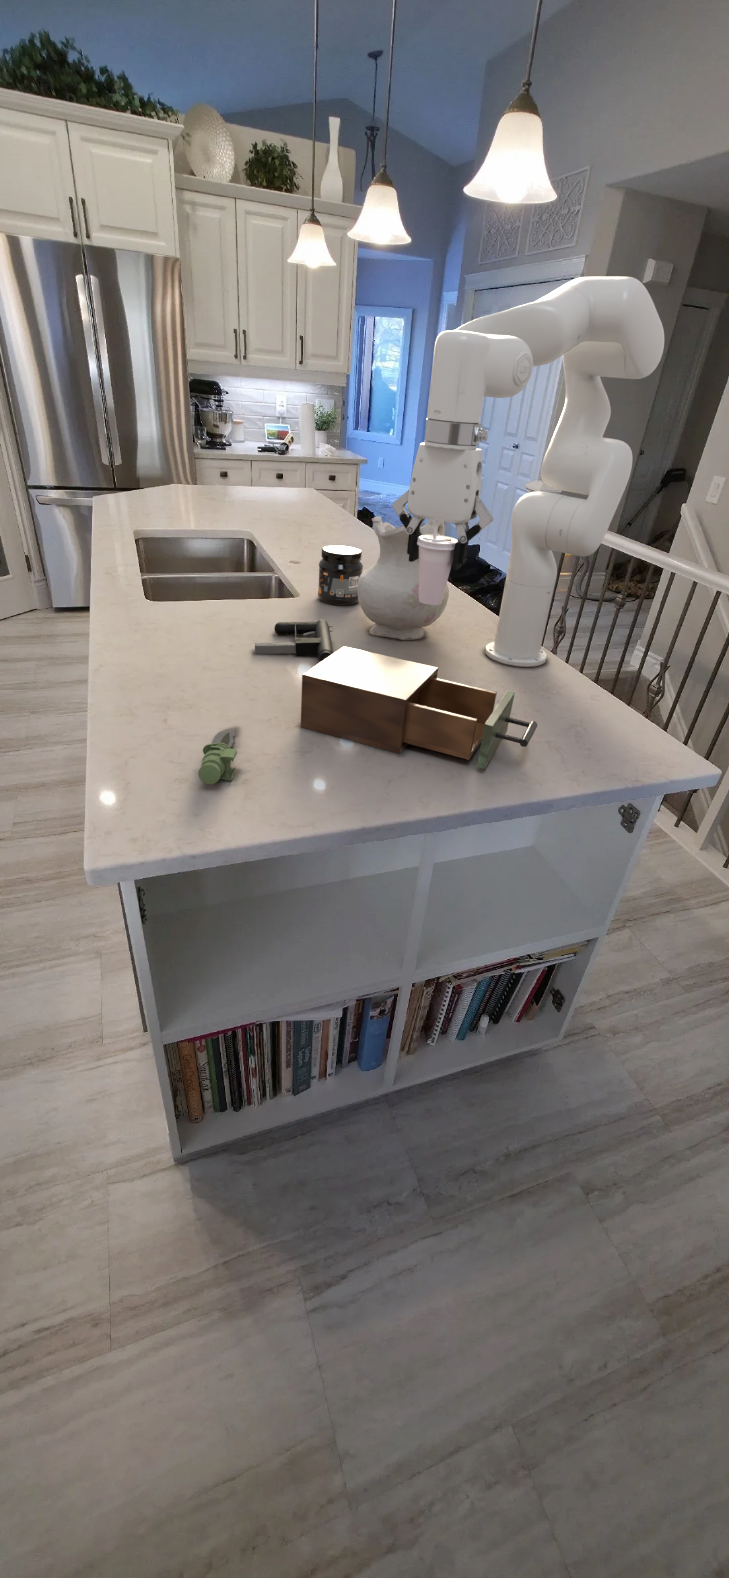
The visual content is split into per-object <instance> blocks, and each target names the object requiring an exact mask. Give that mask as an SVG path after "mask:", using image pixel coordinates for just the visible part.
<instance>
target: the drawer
mask: <svg viewBox="0 0 729 1578" xmlns="http://www.w3.org/2000/svg"><path fill="white" fill-rule="evenodd" d="M497 693H498V692H497V691H495V690H489V689H486V688H481V687H477V686H474V685H473V686H472V685H468V684H464V683H459V682H457V681H451V680H448V679H443V678H438V677H437V678H434V677H433V678H432V679H431V680H430V681H429V682H428V683H427V684H426V685H425V686H424V687H423V688H422V689H421V690H420V691H419V692H418V693H417V694H416V695H415V696H414V697H413V698H412V699H411V700H410V701H409V702H408V703H407V711H406V720H405V728H404V737H403V742H404V743H408V745H411V746H415V747H420V748H423V749H426V750H431V751H435V752H438V753H442V754H445V755H449V756H453V757H455V758H456V757H457V758H460V759H465V760H468V761H469V760H470V759H471V757H472V756H473V755H474V753H475V752H476V750H477V749H478V747H479V745H480V747H479V752H478V757H477V762H476V768H479V769H482V770H485V769H486V768H487V766H488V764H489V762H490V760H492V757H493V756H494V754H495V752H496V751H497V749H498V748H499V746H500V744H501V742H502V741H503V740H505V741H509V742H511V743H512V742H513V743H516V744H519V745H520V746H521V747H522V748H526V747H528V746H529V743H530V741H531V740H532V738H533V735H534V734H535V732H536V729H537V728H538V723H537V721H535V720H531V721H530V722H529V721H525V720H521V719H517V718H513V717H511V714H512V708H513V704H514V699H515V695H516V692H514V691H510V690H506V692H505V694H504V695H503V697H502V698H501V699H500V701H499V702H498V704H497V705H495V704H496V698H497ZM509 724H513V725H518V726H521V727H525V728H526V729H525V731H524V733H523V734H522V737H517V736H513V735H511V734H510V735H509V734H507V732H508V729H509Z"/></svg>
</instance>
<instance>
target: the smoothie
mask: <svg viewBox="0 0 729 1578" xmlns="http://www.w3.org/2000/svg"><path fill="white" fill-rule="evenodd" d="M438 523H439V520H435V525H434V534H433V535H421V536H419V537H418V541H417V545H419V602H421V603H424V604H428V605H439V604H441V603H442V600H443V596H444V592H445V588H446V584H447V585H448V581H449V576H450V573H451V569H452V563H453V555H454V548H455V543H457V542H458V538H457V539H456V538H454V537H452V536H447V535H444V536H442V535H437V531H438Z"/></svg>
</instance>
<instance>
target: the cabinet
mask: <svg viewBox="0 0 729 1578" xmlns="http://www.w3.org/2000/svg"><path fill="white" fill-rule="evenodd" d="M438 674H439V667H437V666H434V665H433V666H432V665H428V664H424V663H420V662H415V661H410V660H406V659H402V658H397V657H393V656H389V655H386V654H385V655H384V654H380V653H376V652H371V651H367V650H363V649H359V648H353V647H349V646H345V645H344V646H342V647H341V648H339V649H338V650H336V651H334V652H333V654H332V655H330V656H329V657H327V658H326V659H324V660H323V661H321V662H320V661H319V662H318V663H317V664H316V665H314V666H312V667H311V668H310V669H307V671H305V672H304V673H302V674H301V701H300V702H301V703H300V705H301V706H300V728H304V729H308V730H312V731H315V732H319V733H322V734H325V735H329V736H333V737H337V738H340V739H344V740H347V741H350V742H354V743H358V744H362V745H366V746H369V747H373V748H376V749H380V750H384V751H387V752H390V753H395V754H399V755H400V754H401V753H402V752H403V751H404V750H405V749H406V747H407V746H408V745H409V744H408V743H404V742H403V737H404V728H405V720H406V711H407V703H408V702H409V701H410V700H411V699H412V698H413V697H414V696H415V695H416V694H417V693H418V692H419V691H420V690H421V689H422V688H423V687H424V686H425V685H426V684H427V683H428V682H429V681H430V680H431V679H432V678H433V677H434V678H438V676H439V675H438Z"/></svg>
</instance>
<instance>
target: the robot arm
mask: <svg viewBox="0 0 729 1578" xmlns="http://www.w3.org/2000/svg"><path fill="white" fill-rule="evenodd" d="M664 330H665V329H664V326H663V323H662V321H661V318H660V316H659V313H658V311H657V308H656V305H655V303H654V300H653V299H652V296H651V295H650V293H649V291H648V289H647V288H646V286H645V285H644V284H643V283H642V282H641V281H640V280H639V279H637V278H635V277H633V276H581V277H577V278H574V279H572V280H570V281H568V282H566V283H564V284H562V285H561V286H559V287H557V288H556V289H554V290H552V291H551V292H549V293H548V294H546V295H544V296H542V297H540V298H538V299H537V300H534V301H533V302H532V301H531V302H528V303H525V304H522V305H517V306H514V307H511V308H509V309H505V310H502V311H497V312H494V313H491V314H487V315H484V316H481V317H478V318H475V319H472V320H469V321H468V322H466V323H465V324H462V325H461V326H459V327H457V328H456V329H453V330H452V329H451V330H443V331H441V332H440V333H439V334H438V335H437V337H436V339H435V341H434V347H433V348H434V350H433V357H432V358H433V359H432V365H431V367H432V369H431V377H430V378H431V379H430V383H429V384H430V385H429V394H428V395H429V396H428V403H427V412H426V413H427V414H426V423H425V432H424V440H423V442H421V443H419V445H418V449H417V452H416V456H415V459H414V464H413V468H412V473H411V476H410V477H411V478H410V483H409V489H408V490H407V491H405V492H404V493H403V494H402V495H400V496H399V497H398V498H397V499H396V500H395V501H393V503H392V504H391V507H392V509H393V511H394V512H395V513H396V515H397V516H398V518H399V520H400V522H401V524H402V526H404V527H405V528H406V532H407V533H408V534H409V538H408V547H407V554H409V561H410V562H413V561H415V560H417V559H419V545H417V541H418V537H419V536H421V535H422V534H421V533H422V532H420V528H421V527H423V524H424V522H425V520H426V519H427V520H428V519H433V520H439V521H444V522H446V523H451V524H452V523H454V526H455V529H456V532H457V537H458V538H457V540H458V542H457V543H455V548H454V555H453V561H452V565H451V569H452V570H454V571H457V570H459V569H461V568H462V566H463V565H465V564H466V561H467V555H468V550H469V542H470V541H471V540H472V539H474V537H476V536H477V535H478V534H480V533H481V532H482V531H483V530H484V529H486V528H487V527H488V526H489V525H490V524H491V523H493V521H494V516H493V515H492V513H491V512H490V511H489V509H488V508H487V507H486V505H485V503H484V502H483V501H482V500H481V493H482V492H481V491H482V479H483V478H482V477H483V450H482V449H483V448H477V445H479V443H480V442H486V441H488V438H489V430H486V429H484V428H482V424H481V417H482V410H483V403H484V398H485V397H486V398H497V399H507V398H510V397H511V398H512V397H514V396H516V395H518V394H519V393H521V392H522V391H523V390H524V389H525V387H526V386H527V385H528V383H529V381H530V379H531V376H532V373H533V368H534V367H539V366H545V365H548V364H551V363H553V362H555V361H556V360H557V359H559V358H561V357H562V364H563V365H562V366H563V374H564V375H563V376H564V387H565V400H564V406H563V408H562V412H561V415H560V417H559V420H558V422H557V425H556V427H555V429H554V431H553V435H552V437H551V439H550V442H549V444H548V447H547V449H546V452H545V454H544V457H543V460H542V463H541V466H540V478H541V480H542V482H543V484H545V485H546V486H547V487H549V488H552V489H555V490H559V491H563V492H569V493H574V494H580V495H585V496H587V498H580V497H575V496H569V495H565V494H561V493H554V492H548V491H532V492H527V493H525V494H524V495H522V496H521V497H519V499H517V501H516V503H515V505H514V507H513V509H512V514H511V521H510V527H511V528H510V553H509V559H508V566H507V571H506V577H505V582H504V587H503V593H502V598H501V604H500V609H499V615H498V619H497V620H498V621H497V626H496V630H495V631H496V632H495V637H494V641H491V642H490V643H488V644H487V645H486V646H485V650H484V653H485V655H486V656H487V657H488V658H490V659H491V660H494V661H495V662H497V663H501V664H503V665H506V666H507V665H508V666H512V667H520V668H531V667H532V668H533V667H538V666H541V665H544V664H545V663H546V662H547V657H548V654H547V653H546V652H545V651H544V649H542V644H543V640H544V636H545V631H546V626H547V621H548V617H549V613H550V609H551V605H552V604H551V603H552V601H553V600H552V599H553V595H554V591H555V586H556V581H557V577H558V568H557V567H558V566H557V562H556V559H555V556H554V553H553V551H554V552H557V553H562V554H567V555H571V556H576V557H589V556H591V555H593V554H594V553H596V551H597V550H598V549H599V547H601V544H602V542H603V540H605V539H604V538H605V536H606V535H607V532H608V530H609V528H610V525H611V523H612V520H613V518H614V515H615V514H616V511H617V509H618V507H619V504H620V502H621V500H622V498H623V495H624V493H625V491H626V487H627V485H628V483H629V479H630V476H631V473H632V468H633V461H634V459H633V458H634V457H633V451H632V449H631V446H630V445H629V444H628V443H627V442H625V441H624V440H620V439H616V438H611V437H610V438H609V437H604V434H605V431H606V430H607V426H608V424H609V422H610V418H611V414H612V408H611V404H610V399H609V396H608V394H607V392H606V389H605V386H604V384H603V382H602V379H601V378H602V377H603V378H615V379H627V380H628V379H629V380H639V379H640V380H641V379H644V378H647V377H648V376H650V375H651V374H652V373H653V372H654V371H655V370H656V368H657V367H658V366H659V363H660V362H661V360H662V356H663V354H664V349H665V331H664ZM406 506H407V508H406ZM477 516H478V517H479V520H478V522H477V523H475V524H474V525H472V527H471V525H470V522H469V521H471V520H474V519H476V518H477Z"/></svg>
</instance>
